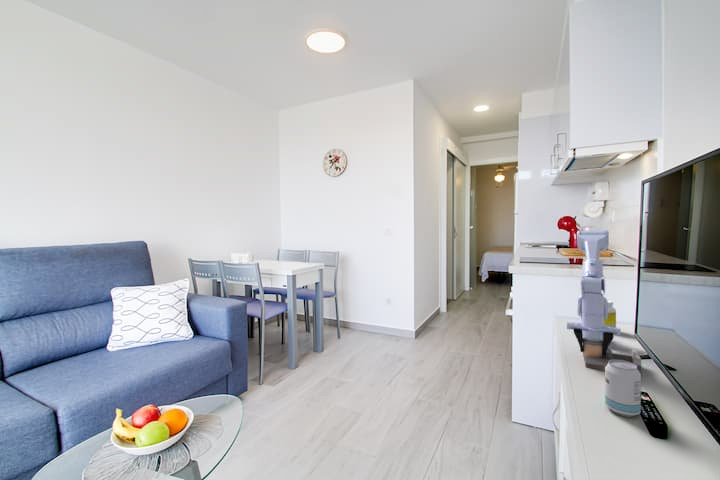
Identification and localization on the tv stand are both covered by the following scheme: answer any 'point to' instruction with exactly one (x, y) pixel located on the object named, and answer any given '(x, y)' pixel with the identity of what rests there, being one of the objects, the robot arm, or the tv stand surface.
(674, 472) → the tv stand surface
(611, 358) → the pusher plate
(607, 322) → the supplement bottle
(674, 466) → the tv stand surface
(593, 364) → the tray
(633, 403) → the beverage can
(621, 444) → the tv stand surface
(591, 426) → the tv stand surface
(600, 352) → the jar
